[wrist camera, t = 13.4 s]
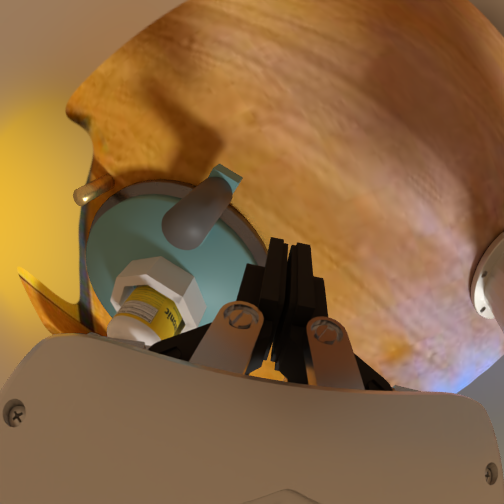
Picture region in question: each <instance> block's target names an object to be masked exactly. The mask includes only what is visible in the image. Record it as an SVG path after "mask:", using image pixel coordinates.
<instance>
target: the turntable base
mask: <svg viewBox="0 0 504 504" xmlns="http://www.w3.org/2000/svg"><path fill="white" fill-rule="evenodd" d="M113 187H114V179H113V177H112V176H111V175H109V174H106V175H104V176H102V177H100V178H98V179H96V180H94V181H92V182H90V183H88V184H86V185H84V186H82V187H80V188H78V189H76V190H75V191H74V194H73V197H74V201H75V202H76V204H77V205H79V206H83V205H84V204H86V203H88V202H89V201H91V200H93V199H94V198H96V197H98V196H100V195H101V194H103V193H105V192H107V191H108V190H110V189H112V188H113ZM196 187H197V186H194V185H192V184H188V183H184V182H180V181H175V180H163V179H158V180H147V181H143V182H139V183H135V184H133V185H130V186H128V187H126V188H124V189H122V190H120V191H119V192H117V193H116V194H114V195H113V196H111V197H110V198H109V199H108V200H107V201H106V202H105V203H104V204H103V205H102V206H101V208H100V209H99V210H98V212H97V213H96V215H95V217H94V220H93V222H92V225H91V228H90V232H91V230H92V228H93V226H94V224H95V223H96V222H97V220H98V219H99V218H100V217H101V216H102V215H103V214H104V213H105V212H106V211H108V210H109V209H111V208H112V207H114V206H115V205H117V204H118V203H120V202H122V201H124V200H126V199H128V198H131V197H134V196H139V195H144V194H162V195H170V196H174V197H178V198H184V197H185V196H186V195H187V194H188V193H190V192H191V191H192V190H193V189H194V188H196ZM219 218H220V219H222V220H223V221H224V222H225V223H226V224H227V225H229V226H230V227H231V228H232V229H233V230H234V231H235V232H236V233H237V234H238V236H239V237H240V238H241V239H242V240H243V241H244V243H245V244H246V246H247V247H248V248H249V250H250V251H251V253H252V255H253V257H254V259H255V261H256V262H257V264H258V265H259V266H263V267H265V263H266V258H267V253H268V251H267V249H266V247H265V244H264V242H263V241H262V239H261V238H260V236H259V235H258V233H257V232H256V230H255V229H254V228H253V227H252V226H251V224H250V223H249V222H248V221H247V220H246V219H245V217H243V216H242V215H241V214H240V213H239V212H238V211H237V210H236V209H235V208H234V207H232V206H231V205H230V204H229V205H228V206H227V207H226V209H225V210H224V212H223V213H222V214H221V216H220V217H219ZM90 232H89V234H90Z"/></svg>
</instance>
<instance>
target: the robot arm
mask: <svg viewBox="0 0 504 504" xmlns="http://www.w3.org/2000/svg"><path fill="white" fill-rule="evenodd" d="M287 255H288V244H286V243H284V240H283V239H278V238H273V237H271V239H270V244H269V249H268V253H267V258H266V263H265V267H263V266H259V265H254V264H249V263H247V264H246V268H245V271H244V275H243V278H242V281H241V285H240V288H239V292H238V295H237V299H236V301H233V302H229V303H227V304H225V305H223V306H222V308H221V309H220V310H219V312H218V313H217V315H216V317H215V318H214V320H213V322H211V323H208V324H206V325H203V326H200V327H197V328H195V329H192V330H189V331H186V332H184V333H181V334H178V335H175V336H172V337H170V338H167V339H164V340H161V341H158V342H156V343H154V344H153V345H152V346H149V345H145V342H142V341H133V340H125V339H118V338H111V337H105V336H98V335H87V334H75V333H64V334H55V335H52V336H49V337H47V338H45V339H43V340H42V341H40V342H39V343H38V344H37V345H36V346H35V347H33V348H32V350H31V351H30V352H29V353H28V354H27V355H26V356H25V357H24V358H23V360H22V361H21V362H20V363H19V365H18V366H17V367H16V369H15V370H14V371H13V373H12V374H11V376H10V377H9V379H8V380H7V382H6V383H5V384H4V386H3V388H2V389H1V391H0V504H504V479H503V471H502V464H501V458H500V453H499V449H498V445H497V440H496V437H495V433H494V430H493V426H492V424H491V421H490V418H489V416H488V414H487V412H486V410H485V408H484V407H483V406H482V405H481V404H480V403H478V402H477V401H475V400H473V399H471V398H468V397H466V396H463V395H458V394H454V393H446V392H422V391H418V390H413V389H409V388H405V387H401V386H397V385H395V386H394V387H393V388H392V387H391V386H390V384H389V383H388V382H387V381H386V380H385V379H384V378H383V377H382V376H380V375H379V374H378V373H377V372H376V371H374V370H373V369H372V368H371V367H370V366H369V365H367V364H366V363H365V362H364V361H363V360H361V359H360V358H359V357H358V356H357V355H356V354H354V352H353V349H352V346H351V343H350V340H349V337H348V334H347V332H346V330H345V328H344V327H343V326H342V325H341V324H340V323H339V322H338V321H336V320H334V319H332V318H329V317H328V311H327V302H326V294H325V286H324V280H323V278H319V277H314V276H313V269H312V258H311V247H310V245H307V244H302V243H297V245H296V246H295V245H292V246H291V249H290V253H289V257H288V261H287ZM471 301H472V304H473V306H474V308H475V310H476V311H477V313H478V314H479V315H480V316H482V317H484V318H488V319H493V318H495V319H496V321H497V322H498V324H499V326H500V328H501V329H502V331H503V333H504V232H502V233H501V234H500V235H499V236H498V237H497V238H496V239H495V240H494V241H493V242H492V244H491V245H490V246H489V247H488V249H487V250H486V252H485V253H484V255H483V256H482V258H481V260H480V262H479V264H478V266H477V269H476V271H475V274H474V277H473V281H472V285H471ZM272 342H273V344H272ZM271 345H272V352H271V361H273V362H275V370H277V371H280V372H281V373H282V374H283V375H284V376H285V377H284V381H278V380H271V379H266V378H260V377H254V376H249V374H250V372H252V371H254V370H256V369H258V368H260V367H261V365H262V362H263V360H267V357H268V354H269V351H270V348H271Z"/></svg>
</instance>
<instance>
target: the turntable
mask: <svg viewBox="0 0 504 504" xmlns="http://www.w3.org/2000/svg"><path fill="white" fill-rule="evenodd" d="M241 180H242V177H241V176H239V175H237V174H236V173H234V172H233V171H231V170H229V169H228V168H226V167H224V166H223V165H221V164H218V165H217V166H216V167H214V168H213V170H212V171H211V173H210V175H209V177H208V178H207V179H205V180H204V181H203V182H202V183H200V184H199V185H198V186H197V187H196V188H194V189H193V190H192V191H191V192H190V193H188V194H187V195H186V196H185V197H184V198H178V197H174V196H170V195H162V194H144V195H139V196H134V197H131V198H128V199H126V200H124V201H122V202H120V203H118V204H117V205H115V206H114V207H112V208H111V209H109V210H108V211H106V212H105V213H104V214H103V215H102V216H101V217H100V218H99V219H98V220H97V222H96V223H95V224H94V226H93V228H92V230H91V232H90V234H89V238H88V241H87V247H86V264H87V271H88V275H89V278H90V281H91V284H92V286H93V289H94V291H95V293H96V295H97V297H98V299H99V300H100V302H101V304H102V305H103V307H104V308H105V309H106V311H107V312H108V313H109V314H110V316H111V317H112V318H113V317H114V316H115V314H116V313H117V312H118V310H119V309H120V308H121V306H122V305H123V304H124V302H125V301H126V300H127V298H128V297H129V296H130V294H131V293H132V292H133V291H134V289H135V288H136V287H137V285H149V286H150V287H152V288H153V289H155V290H157V291H158V292H160V293H161V294H163V295H165V296H166V297H168V298H170V299H171V300H173V301H174V302H175V304H176V306H177V308H178V310H179V312H180V314H181V316H182V320H181V322H180V324H179V326H178V328H177V330H176V332H175V334H174V336H175V335H178V334H181V333H184V332H186V331H189V330H192V329H195V328H197V327H200V326H203V325H206V324H208V323H211V322H213V320H214V318H215V317H216V315H217V313H218V312H219V310H220V309H221V308H222V306H223V305H225V304H227V303H229V302H233V301H236V299H237V295H238V292H239V288H240V285H241V281H242V278H243V275H244V271H245V268H246V264H247V263H249V264H254V265H258V264H257V262H256V261H255V259H254V257H253V255H252V253H251V251H250V250H249V248H248V247H247V246H246V244H245V243H244V241H243V240H242V239H241V238H240V237H239V236H238V234H237V233H236V232H235V231H234V230H233V229H232V228H231V227H230V226H229V225H227V224H226V223H225V222H224V221H223V220H222V219H220V218H219V217H220V216H221V214H222V213H223V212H224V210H225V209H226V207H227V206H228V205H229V203H230V202H231V200H232V195H233V193H234V191H235V190H236V188H237V186H238V185H239V183H240V182H241Z"/></svg>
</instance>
